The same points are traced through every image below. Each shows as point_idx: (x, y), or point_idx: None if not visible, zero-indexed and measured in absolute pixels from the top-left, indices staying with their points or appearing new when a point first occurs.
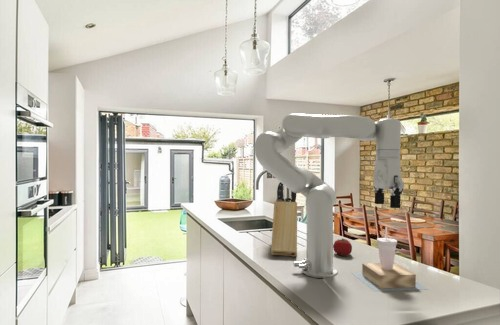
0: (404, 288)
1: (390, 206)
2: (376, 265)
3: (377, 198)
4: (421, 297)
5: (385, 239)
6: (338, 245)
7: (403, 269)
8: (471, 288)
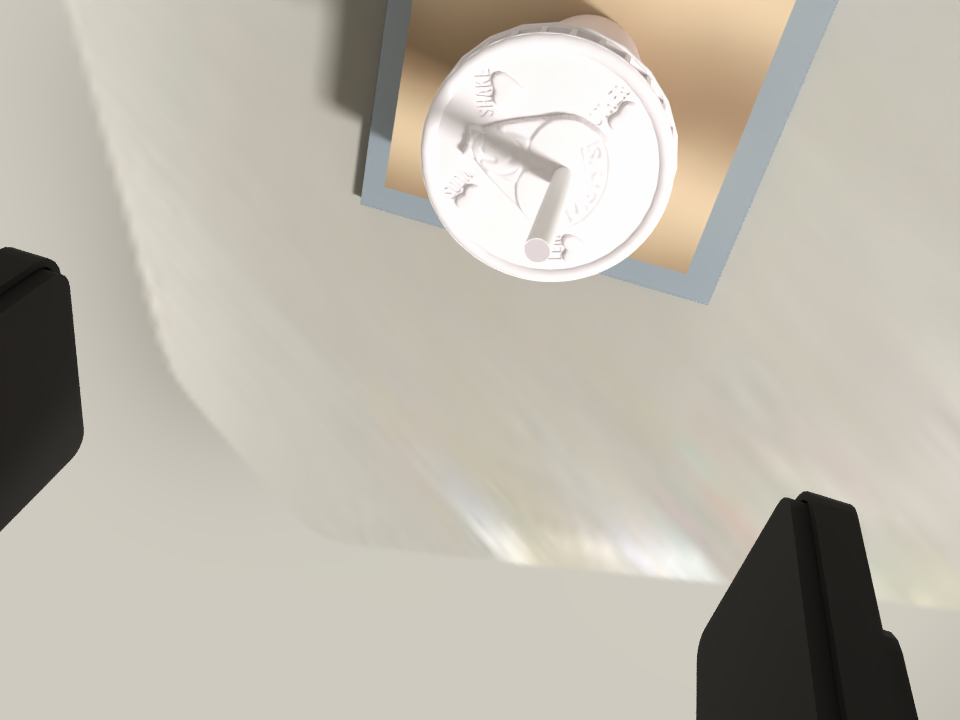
0: None
1: (20, 260)
2: (698, 39)
3: (784, 645)
4: (286, 56)
5: (543, 145)
6: None
7: None
8: (347, 457)
